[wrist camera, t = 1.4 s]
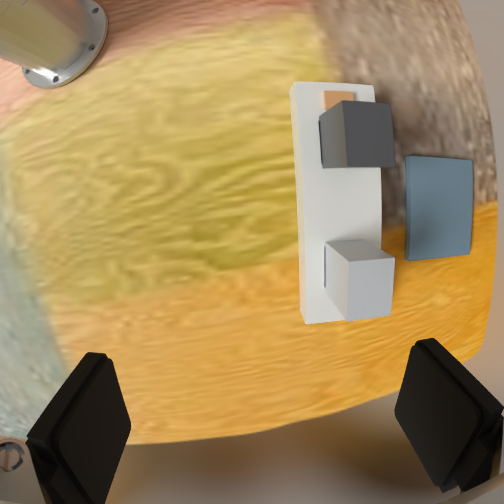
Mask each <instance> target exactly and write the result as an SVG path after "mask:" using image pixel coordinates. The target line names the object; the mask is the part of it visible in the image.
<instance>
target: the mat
mask: <svg viewBox="0 0 504 504" xmlns="http://www.w3.org/2000/svg"><path fill="white" fill-rule="evenodd" d="M405 161H406V195H407V215H406V249H405V259H406V260H408V261H414V260H424V259H433V258H442V257H451V256H460V255H469V254H470V244H471V230H472V208H473V171H472V161H470V160H460V159H449V158H437V157H422V156H405Z"/></svg>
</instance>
